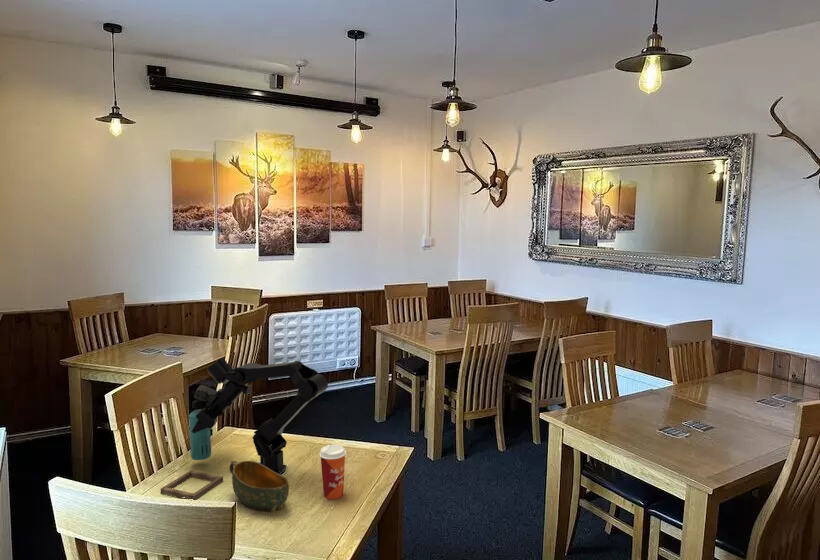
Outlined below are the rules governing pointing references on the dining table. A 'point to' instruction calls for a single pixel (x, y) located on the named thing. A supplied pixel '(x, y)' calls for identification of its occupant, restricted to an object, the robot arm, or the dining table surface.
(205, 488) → the walnut collar
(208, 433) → the beverage bottle
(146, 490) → the dining table surface
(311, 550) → the dining table surface
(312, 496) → the dining table surface
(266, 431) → the robot arm
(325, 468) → the paper cup
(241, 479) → the green bowl
